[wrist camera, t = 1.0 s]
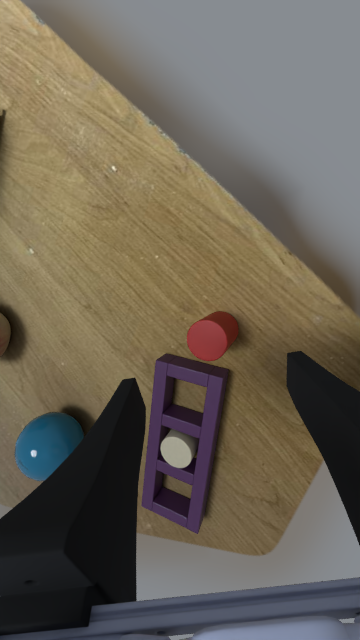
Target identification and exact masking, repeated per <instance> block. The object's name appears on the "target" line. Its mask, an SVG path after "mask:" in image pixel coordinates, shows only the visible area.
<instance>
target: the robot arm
mask: <svg viewBox="0 0 360 640" xmlns="http://www.w3.org/2000/svg"><path fill="white" fill-rule="evenodd" d="M287 388H288V391H289V393H290V396H291V398H292V400H293V403H294V405H295V407H296V409H297V411H298V413H299V415H300V416H301V418H302V420H303V422H304V424H305V425H306V427H307V429H308V431H309V432H310V434H311V436H312V438H313V440H314V441H315V443H316V445H317V447H318V449H319V450H320V452H321V454H322V456H323V458H324V460H325V463H326V465H327V467H328V469H329V472H330V474H331V476H332V478H333V481H334V483H335V485H336V487H337V490H338V492H339V495H340V497H341V500H342V502H343V504H344V507H345V509H346V511H347V514H348V517H349V519H350V522H351V524H352V526H353V529H354V532H355V534H356V537H357V540H358V542H359V545H360V392H359V391H358V390H356V389H354V388H353V387H351V386H349V385H348V384H346V383H345V382H343V381H342V380H340V379H339V378H337V377H336V376H335V375H333V374H332V373H330V372H329V371H327V370H326V369H325V368H323V367H322V366H321V365H319V364H318V363H316V362H315V361H314V360H312V359H311V358H310V357H308V356H307V355H306V354H304V353H303V352H302V351H297V352H291V353H287ZM145 422H146V407H145V404H144V401H143V398H142V396H141V393H140V390H139V387H138V384H137V382H136V379H135V378H130V379H124V380H122V381H121V383H120V385H119V386H118V388H117V390H116V391H115V393H114V395H113V396H112V398H111V399H110V401H109V403H108V404H107V406H106V407H105V409H104V410H103V412H102V413H101V415H100V416H99V418H98V419H97V421H96V422H95V423H94V425H93V426H92V428H91V429H90V430H89V432H88V433H87V434H86V436H85V437H84V438H83V440H82V441H81V442H80V443H79V445H78V446H77V447H76V448H75V449H74V450H73V452H72V453H71V454H70V455H69V456H68V457H67V458H66V459H65V460H64V461H63V462H62V464H61V465H60V466H59V467H58V468H57V469H56V470H55V471H54V472H53V473H52V474H51V475H50V476H49V477H48V478H47V479H46V480H45V481H44V482H43V483H42V484H41V485H39V486H38V487H37V488H36V489H35V490H34V491H33V492H32V493H31V494H29V495H28V496H27V497H26V498H25V499H24V500H23V501H21V502H20V503H19V504H18V505H17V506H15V507H14V508H13V509H12V510H10V511H9V512H8V513H7V514H6V515H4V516H3V517H2V518H1V519H0V640H170V638H169V637H168V636H173V635H183V634H193V633H194V635H193V637H191V638H186V639H181V640H360V577H359V578H351V579H341V580H331V581H322V582H314V583H303V584H294V585H285V586H275V587H266V588H257V589H247V590H238V591H228V592H219V593H210V594H200V595H191V596H181V597H172V598H163V599H153V600H144V601H136V527H137V497H138V480H139V471H140V464H141V457H142V450H143V442H144V435H145ZM348 618H355V620H354V622H355V623H342V622H341V621H339V620H338V619H348Z"/></svg>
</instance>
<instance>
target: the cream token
mask: <svg viewBox="0 0 360 640" xmlns="http://www.w3.org/2000/svg"><path fill="white" fill-rule="evenodd" d="M199 440H200V438H196V437H193V436H191V435H188V434H185V433H182V432H180V431H177V430H174V429H171V430H170V432H169V433H168V434H167V436H166V437H165V438H164V440H163V441H162V443H161V453H162V456H163V458H164V459H165V461H166V462H167V463H169V464H170V465H171V466H173V467H176V468H184V467H186V466H188V465H189V464H190V462H191V461H192V459H193V457H194V455H195V453H196V451H197V449H198V446H199Z"/></svg>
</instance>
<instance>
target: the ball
mask: <svg viewBox="0 0 360 640" xmlns="http://www.w3.org/2000/svg"><path fill="white" fill-rule="evenodd" d="M83 438H84V432H83V429H82V427H81V425H80V423H79V422H78V421H77V420H76V419H75V418H74V417H72V416H71V415H69V414H66V413H62V412H49V413H46V414H43V415H41V416H38V417H36V418H34V419H33V420H32V421H30V422H29V423H28V424H27V425H26V426H25V428H24V429H23V431H22V432H21V434H20V435H19V437H18V439H17V442H16V446H15V460H16V463H17V465H18V468H19V469H20V470H21V472H22V473H23V474H24V475H26V476H27V477H28V478H31V479H34V480H37V481H45V480H46V479H47V478H48V477H49V476H50V475H51V474H52V473H53V472H54V471H55V470H56V469H57V468H58V467H59V466H60V465H61V464H62V462H63V461H64V460H65V459H66V458H67V457H68V456H69V455H70V454H71V453H72V452H73V450H74V449H75V448H76V447H77V446H78V445H79V443H80V442H81V441H82V440H83Z"/></svg>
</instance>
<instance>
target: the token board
mask: <svg viewBox="0 0 360 640" xmlns="http://www.w3.org/2000/svg"><path fill="white" fill-rule="evenodd" d="M228 371H229V370H228V369H225V368H221V367H217V366H216V367H215V366H213V365H209V364H205V363H201V362H197V361H193V360H190V359H186V358H182V357H178V356H174V355H170V354H164V355H163V356H161V357H160V358H158V359H157V360H156V365H155V375H154V385H153V395H152V405H151V415H150V425H149V436H148V446H147V456H146V466H145V476H144V486H143V496H142V507H144V508H146V509H148V510H150V511H153V512H155V513H157V514H159V515H161V516H163V517H165V518H167V519H169V520H171V521H173V522H175V523H177V524H179V525H181V526H183V527H185V528H187V529H189V530H191V531H193V532H195V533H197V534H198V532H199V529H200V526H201V524H202V521H203V518H204V515H205V509H206V503H207V497H208V491H209V485H210V479H211V473H212V467H213V461H214V455H215V449H216V443H217V437H218V431H219V425H220V419H221V413H222V407H223V401H224V395H225V389H226V383H227V377H228ZM174 378H177V379H180V380H184V381H187V382H191V383H194V384H197V385H201V386H204V387H207V393H206V399H205V406H204V413H203V414H202V413H199V412H196V411H193V410H190V409H187V408H184V407H181V406H178V405H175V404H171V403H172V395H173V386H174ZM169 428H171V429H174V430H177V431H180V432H182V433H185V434H188V435H191V436H193V437H196V438H200V440H199V446H198V453H197V458H194V457H193V459H192V461H191V462H190V464H189V465H188V466H186V467H184V468H176V467H173V466H171V465H170V464H169V463H167V462H166V461H165V459H164V458H163V456H162V453H161V443H162V441H163V440H164V438H165V437H166V436H167V434H168V429H169ZM163 473H165V474H167V475H169V476H171V477H174V478H176V479H178V480H181V481H183V482H185V483H188V484H190V485H193V486H192V493H191V499H189V498H186V497H184V496H182V495H180V494H177V493H175V492H173V491H171V490H169V489H166V488H164V487H162V480H163Z"/></svg>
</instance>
